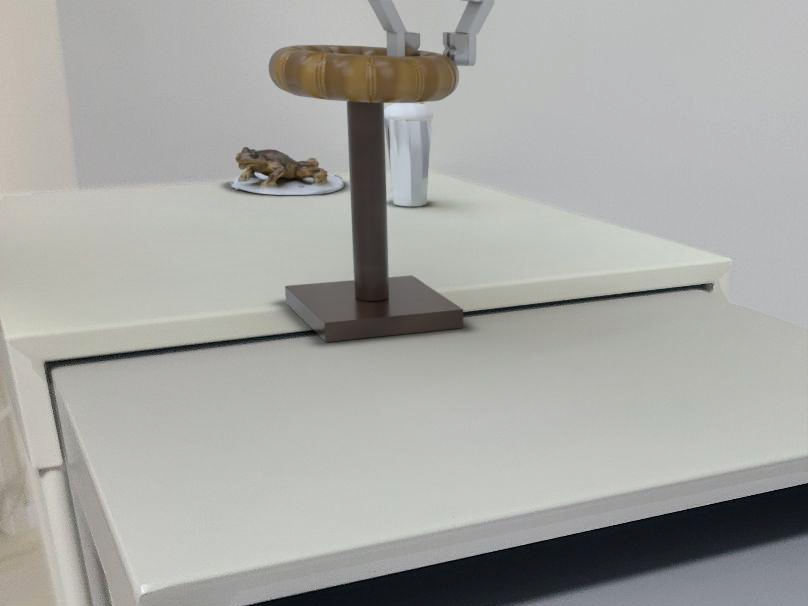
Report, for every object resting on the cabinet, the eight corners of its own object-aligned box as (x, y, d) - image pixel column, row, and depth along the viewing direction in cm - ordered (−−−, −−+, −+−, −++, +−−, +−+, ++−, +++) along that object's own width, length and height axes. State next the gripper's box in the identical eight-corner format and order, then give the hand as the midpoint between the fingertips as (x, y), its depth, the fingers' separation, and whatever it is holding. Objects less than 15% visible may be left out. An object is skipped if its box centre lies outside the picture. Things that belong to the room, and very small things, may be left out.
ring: (301, 104, 57) (298, 55, 56) (253, 84, 65) (250, 41, 64) (486, 105, 61) (487, 60, 60) (418, 87, 70) (418, 46, 69)
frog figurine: (267, 200, 102) (263, 158, 100) (207, 181, 110) (203, 141, 108) (367, 189, 109) (366, 150, 107) (304, 172, 117) (302, 134, 115)
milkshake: (446, 201, 105) (445, 91, 100) (418, 210, 101) (416, 95, 96) (406, 196, 107) (404, 87, 102) (376, 204, 102) (373, 91, 98)
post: (325, 342, 64) (312, 107, 58) (285, 303, 71) (270, 89, 65) (463, 327, 68) (464, 105, 62) (412, 292, 75) (409, 89, 69)
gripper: (570, -188, 65) (559, 61, 71) (228, -228, 56) (251, 60, 63) (623, -200, 60) (606, 70, 66) (257, -244, 51) (279, 69, 58)
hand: (431, 65), depth 64 cm, fingers closed on ring, 2 cm apart
